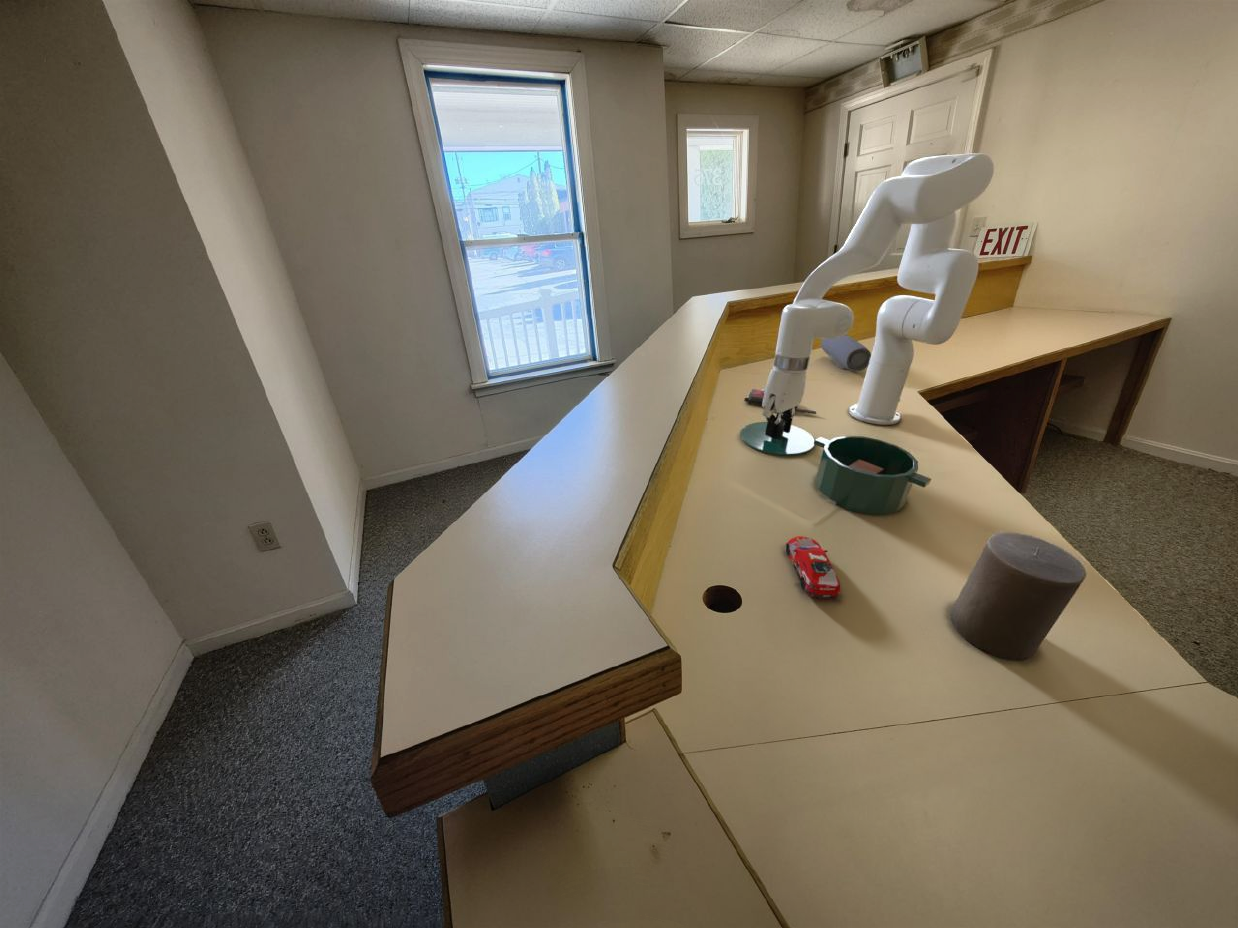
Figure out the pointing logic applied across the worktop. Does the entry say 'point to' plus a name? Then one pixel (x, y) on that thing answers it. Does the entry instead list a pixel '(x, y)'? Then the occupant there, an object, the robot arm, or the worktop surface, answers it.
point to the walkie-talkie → (757, 399)
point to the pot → (866, 474)
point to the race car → (813, 568)
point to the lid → (783, 445)
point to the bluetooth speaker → (847, 353)
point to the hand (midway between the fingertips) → (777, 433)
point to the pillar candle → (1015, 594)
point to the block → (866, 467)
